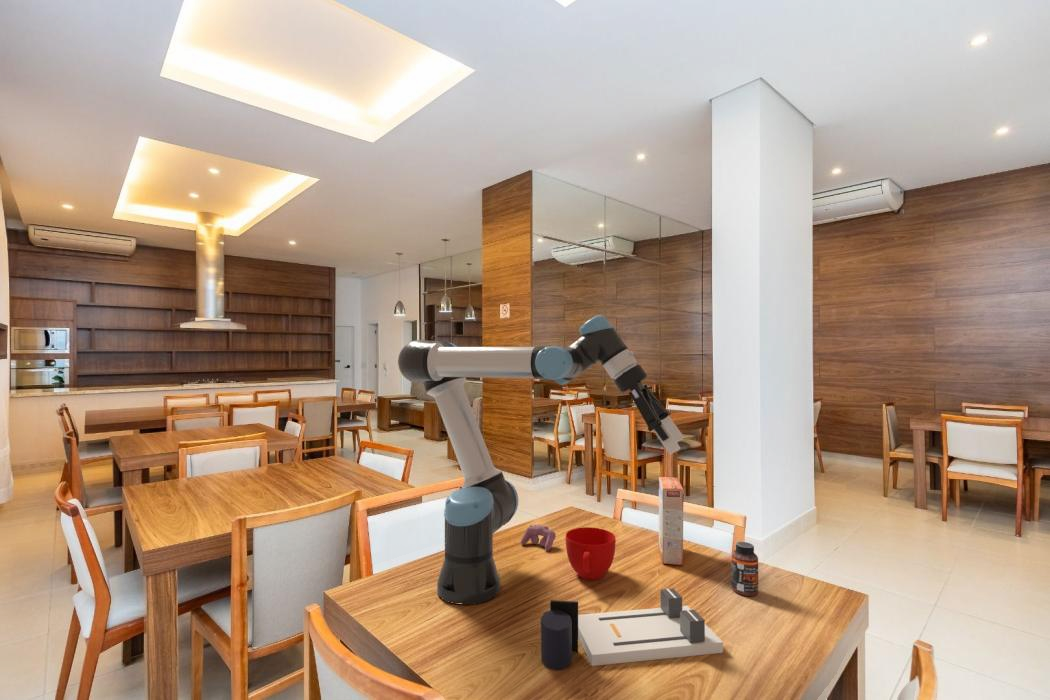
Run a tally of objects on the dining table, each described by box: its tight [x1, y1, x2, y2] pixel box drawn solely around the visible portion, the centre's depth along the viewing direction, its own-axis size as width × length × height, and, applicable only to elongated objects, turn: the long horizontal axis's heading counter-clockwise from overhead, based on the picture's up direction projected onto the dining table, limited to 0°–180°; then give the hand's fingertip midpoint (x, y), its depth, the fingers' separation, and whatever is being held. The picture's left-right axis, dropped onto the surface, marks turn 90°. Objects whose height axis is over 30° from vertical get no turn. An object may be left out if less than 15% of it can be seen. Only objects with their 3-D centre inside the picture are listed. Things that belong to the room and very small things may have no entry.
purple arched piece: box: [520, 524, 557, 552], centre depth 147 cm, size 10×5×7 cm, turn 58°
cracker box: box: [658, 476, 685, 566], centre depth 140 cm, size 14×6×21 cm, turn 168°
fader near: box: [680, 609, 706, 643], centre depth 95 cm, size 3×4×4 cm
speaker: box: [540, 599, 579, 671], centre depth 91 cm, size 8×6×10 cm
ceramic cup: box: [565, 526, 617, 581], centre depth 126 cm, size 13×17×10 cm
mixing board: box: [578, 605, 724, 667], centre depth 98 cm, size 26×14×2 cm, turn 99°
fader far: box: [660, 588, 683, 618], centre depth 104 cm, size 3×4×4 cm
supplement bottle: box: [730, 541, 759, 597], centre depth 118 cm, size 6×6×11 cm
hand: (677, 446), depth 115 cm, fingers open, 13 cm apart
